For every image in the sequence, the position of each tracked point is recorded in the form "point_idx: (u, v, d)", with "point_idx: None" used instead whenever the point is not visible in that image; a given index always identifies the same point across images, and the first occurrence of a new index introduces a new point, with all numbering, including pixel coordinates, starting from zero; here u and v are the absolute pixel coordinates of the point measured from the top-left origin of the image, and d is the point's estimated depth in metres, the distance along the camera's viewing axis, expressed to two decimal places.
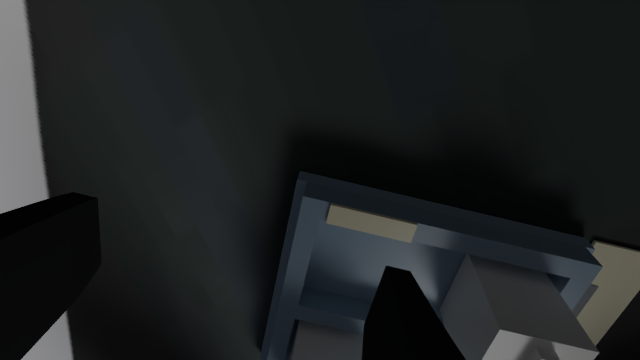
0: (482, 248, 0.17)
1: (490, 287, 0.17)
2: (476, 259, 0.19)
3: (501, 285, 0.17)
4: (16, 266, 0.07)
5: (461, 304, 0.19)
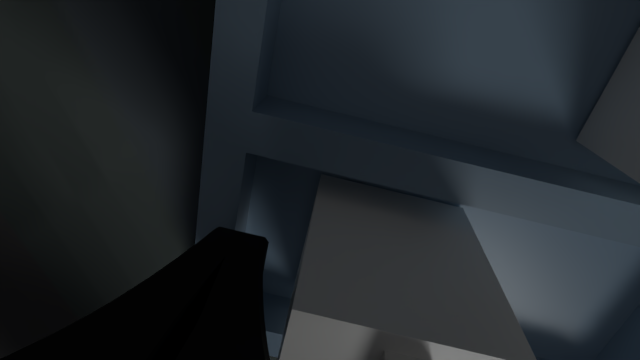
0: None
1: None
2: None
3: None
4: (202, 309, 0.07)
5: None
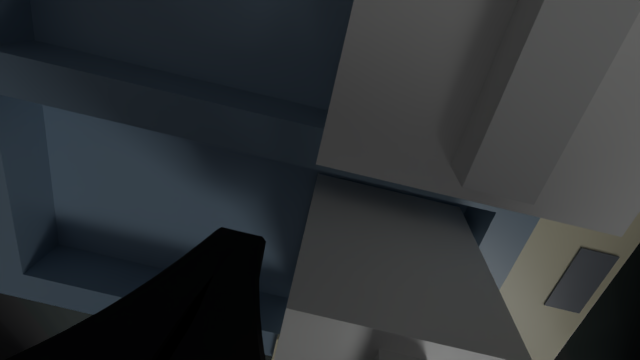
0: None
1: None
2: None
3: None
4: None
5: None
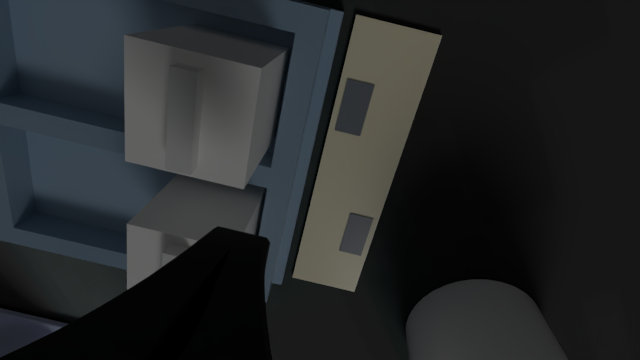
0: None
1: (175, 31, 0.13)
2: (194, 26, 0.15)
3: (197, 34, 0.13)
4: (200, 309, 0.07)
5: None
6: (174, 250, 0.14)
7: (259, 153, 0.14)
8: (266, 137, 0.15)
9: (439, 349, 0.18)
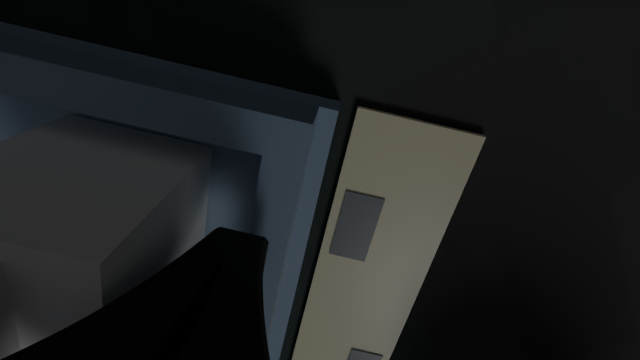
0: (71, 91, 0.09)
1: (5, 151, 0.08)
2: (65, 122, 0.10)
3: (47, 151, 0.08)
4: (203, 309, 0.07)
5: None
6: None
7: None
8: None
9: None
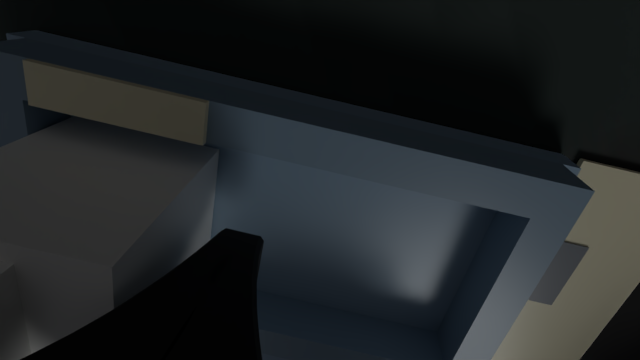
0: (349, 156, 0.09)
1: (13, 153, 0.08)
2: (73, 124, 0.10)
3: (55, 153, 0.08)
4: None
5: None
6: None
7: None
8: None
9: None
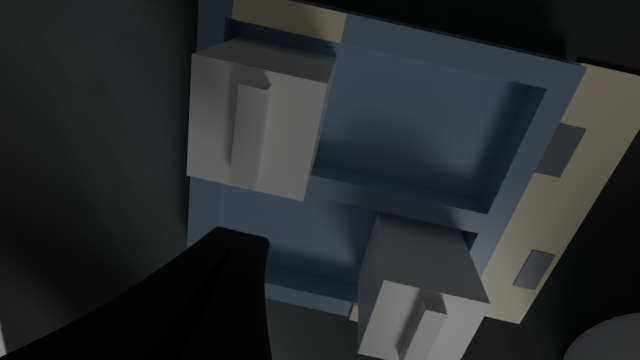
0: (432, 49, 0.14)
1: (231, 45, 0.13)
2: (244, 39, 0.15)
3: (251, 48, 0.13)
4: (200, 309, 0.07)
5: None
6: (432, 306, 0.14)
7: (312, 164, 0.14)
8: None
9: None
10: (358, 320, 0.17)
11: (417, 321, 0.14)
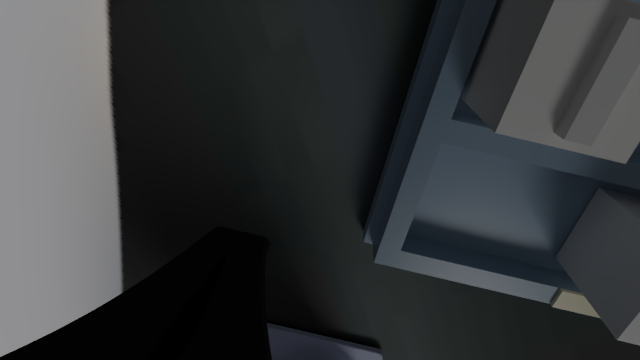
0: None
1: None
2: None
3: None
4: (200, 309, 0.07)
5: (489, 48, 0.13)
6: None
7: None
8: None
9: None
10: (594, 305, 0.16)
11: None
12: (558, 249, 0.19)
